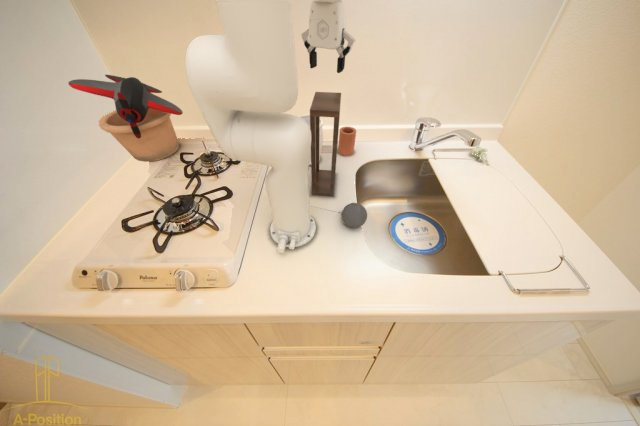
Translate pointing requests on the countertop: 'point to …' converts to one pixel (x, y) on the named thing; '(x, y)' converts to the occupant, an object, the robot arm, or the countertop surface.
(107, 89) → the toy airplane
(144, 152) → the pottery
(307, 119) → the jar
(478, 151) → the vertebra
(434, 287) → the countertop surface
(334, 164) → the shelf stand
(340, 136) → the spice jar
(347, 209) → the lollipop
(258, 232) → the countertop surface
